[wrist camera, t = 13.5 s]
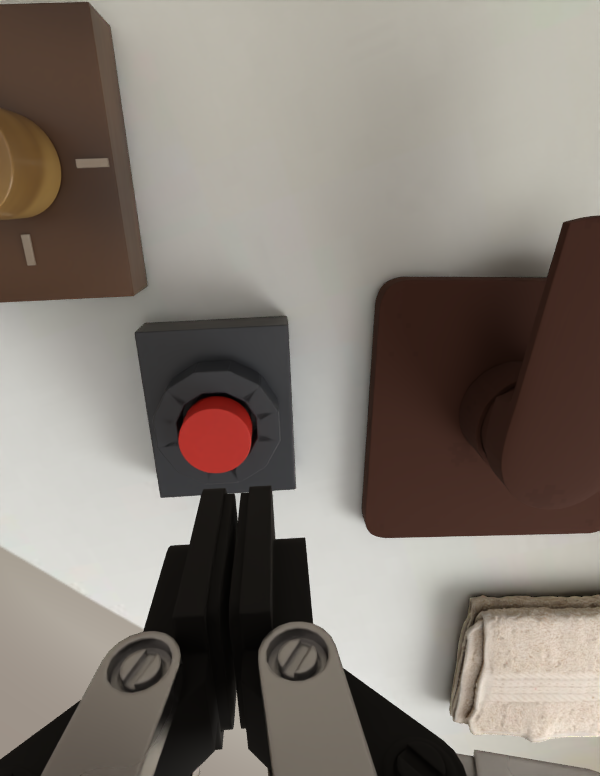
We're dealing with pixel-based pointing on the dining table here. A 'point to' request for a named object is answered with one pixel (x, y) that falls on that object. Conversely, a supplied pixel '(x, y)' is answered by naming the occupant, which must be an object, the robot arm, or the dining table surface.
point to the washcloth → (529, 667)
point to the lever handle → (488, 401)
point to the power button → (216, 434)
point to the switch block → (219, 378)
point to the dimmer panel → (70, 158)
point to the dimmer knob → (26, 168)
